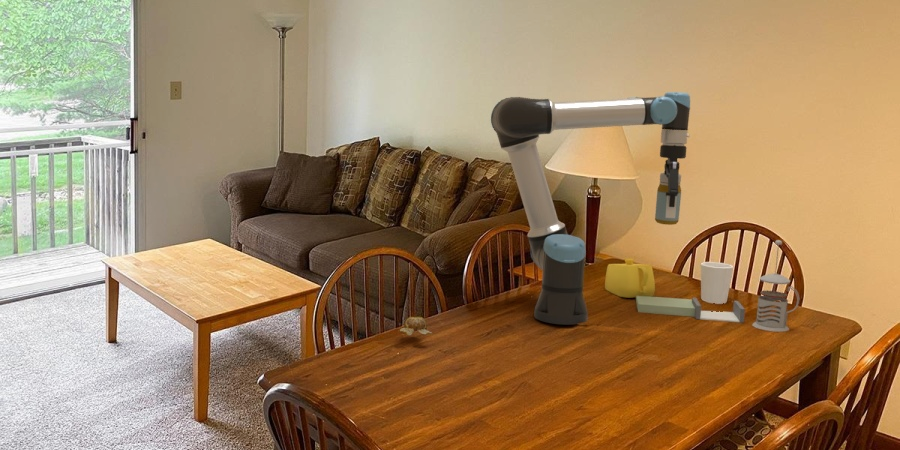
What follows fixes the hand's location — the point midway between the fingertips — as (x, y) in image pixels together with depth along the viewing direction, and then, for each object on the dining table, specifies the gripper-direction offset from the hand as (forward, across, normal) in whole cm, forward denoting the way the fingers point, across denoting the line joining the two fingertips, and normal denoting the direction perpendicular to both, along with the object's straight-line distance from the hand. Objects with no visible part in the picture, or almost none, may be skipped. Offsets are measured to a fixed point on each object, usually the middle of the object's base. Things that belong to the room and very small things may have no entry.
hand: (668, 215), depth 239 cm
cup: (+29, +10, -17) cm, 35 cm away
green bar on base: (+29, -5, -6) cm, 30 cm away
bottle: (+3, +4, 0) cm, 5 cm away
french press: (+29, -14, -30) cm, 44 cm away
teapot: (+28, +11, +9) cm, 31 cm away
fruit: (+30, -54, +64) cm, 89 cm away
